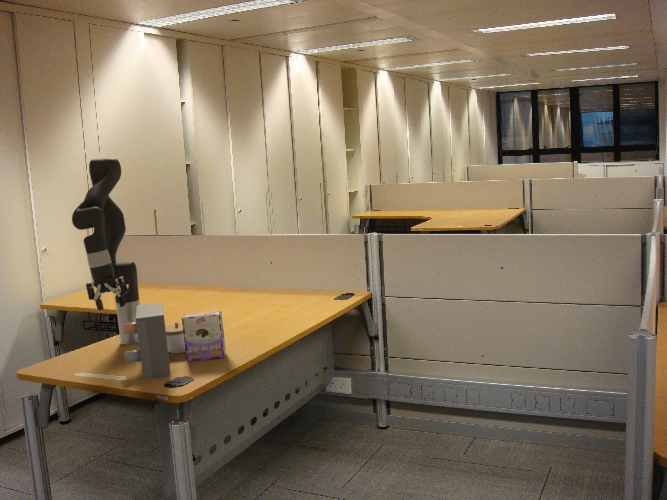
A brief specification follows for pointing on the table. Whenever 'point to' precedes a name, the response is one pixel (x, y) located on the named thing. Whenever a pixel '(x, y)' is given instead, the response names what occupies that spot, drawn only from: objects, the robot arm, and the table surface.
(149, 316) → the console panel
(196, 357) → the candy box
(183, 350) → the lidded container
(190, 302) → the table surface
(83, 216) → the robot arm
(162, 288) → the table surface
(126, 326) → the terracotta button
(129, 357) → the slate blue button
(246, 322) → the table surface
